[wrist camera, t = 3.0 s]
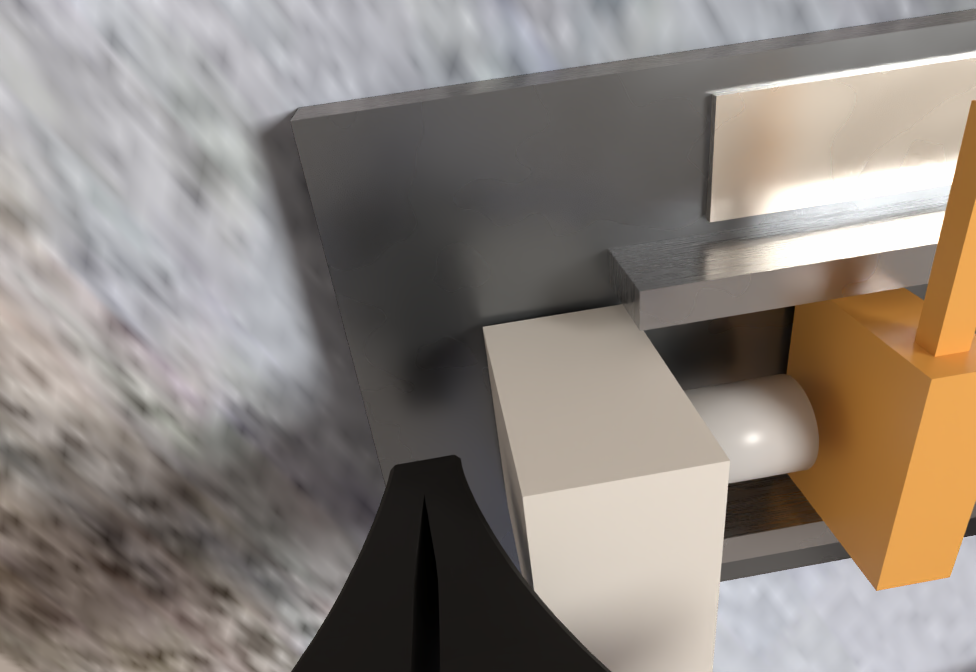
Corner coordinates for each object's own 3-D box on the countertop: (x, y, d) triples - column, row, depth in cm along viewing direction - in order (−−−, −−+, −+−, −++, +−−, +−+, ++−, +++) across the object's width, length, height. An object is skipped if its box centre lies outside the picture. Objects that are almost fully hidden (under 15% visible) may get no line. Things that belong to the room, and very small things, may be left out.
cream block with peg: (507, 505, 16) (548, 704, 12) (482, 326, 14) (522, 496, 9) (747, 462, 16) (872, 642, 12) (765, 280, 14) (932, 425, 10)
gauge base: (423, 599, 20) (435, 899, 13) (298, 107, 12) (202, 254, 6) (1101, 477, 20) (1409, 704, 14) (1339, -45, 13) (2152, -48, 7)
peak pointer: (775, 458, 16) (876, 590, 13) (825, 73, 12) (999, 120, 8) (834, 448, 17) (949, 576, 13) (905, 62, 12) (1110, 103, 9)
